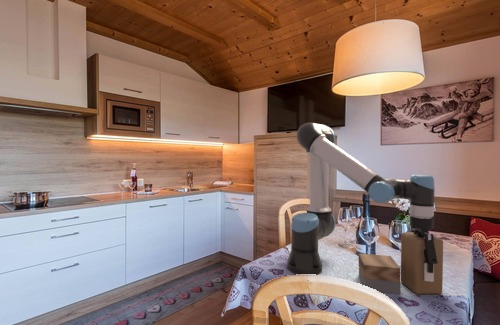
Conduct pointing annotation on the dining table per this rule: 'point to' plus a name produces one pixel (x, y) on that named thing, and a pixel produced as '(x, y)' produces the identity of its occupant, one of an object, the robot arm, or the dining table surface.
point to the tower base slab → (381, 285)
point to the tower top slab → (379, 267)
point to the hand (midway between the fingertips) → (420, 272)
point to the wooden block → (420, 264)
